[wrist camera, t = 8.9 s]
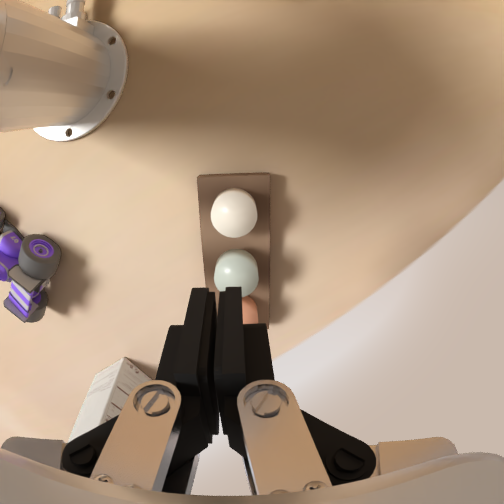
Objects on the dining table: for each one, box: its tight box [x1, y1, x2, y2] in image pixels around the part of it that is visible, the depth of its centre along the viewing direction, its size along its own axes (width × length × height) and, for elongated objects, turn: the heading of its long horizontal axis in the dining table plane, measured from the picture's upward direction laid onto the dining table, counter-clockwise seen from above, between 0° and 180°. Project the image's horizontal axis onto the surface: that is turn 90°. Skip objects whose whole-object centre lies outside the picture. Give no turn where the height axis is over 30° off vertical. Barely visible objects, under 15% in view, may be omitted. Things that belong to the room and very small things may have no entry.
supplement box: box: [68, 357, 152, 443], centre depth 29 cm, size 7×7×13 cm
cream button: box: [211, 188, 257, 238], centre depth 24 cm, size 4×4×2 cm
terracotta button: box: [242, 296, 258, 324], centre depth 28 cm, size 4×4×2 cm
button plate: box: [197, 173, 270, 329], centre depth 28 cm, size 16×6×2 cm, turn 1°
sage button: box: [214, 249, 259, 297], centre depth 25 cm, size 4×4×2 cm
